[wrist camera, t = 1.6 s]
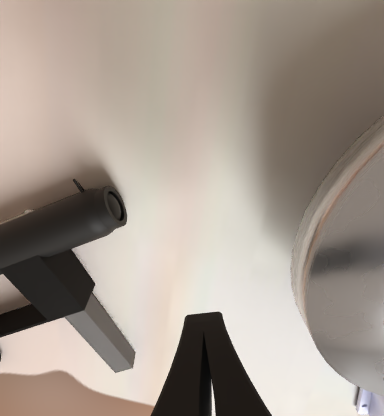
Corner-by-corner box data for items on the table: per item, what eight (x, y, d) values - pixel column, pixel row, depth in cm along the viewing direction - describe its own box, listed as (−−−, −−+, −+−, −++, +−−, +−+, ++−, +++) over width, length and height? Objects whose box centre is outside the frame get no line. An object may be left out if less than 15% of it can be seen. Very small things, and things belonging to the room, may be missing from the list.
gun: (199, 359, 20) (85, 176, 13) (-13, 417, 23) (-199, 292, 16) (197, 322, 23) (103, 156, 16) (9, 378, 26) (-141, 258, 19)
